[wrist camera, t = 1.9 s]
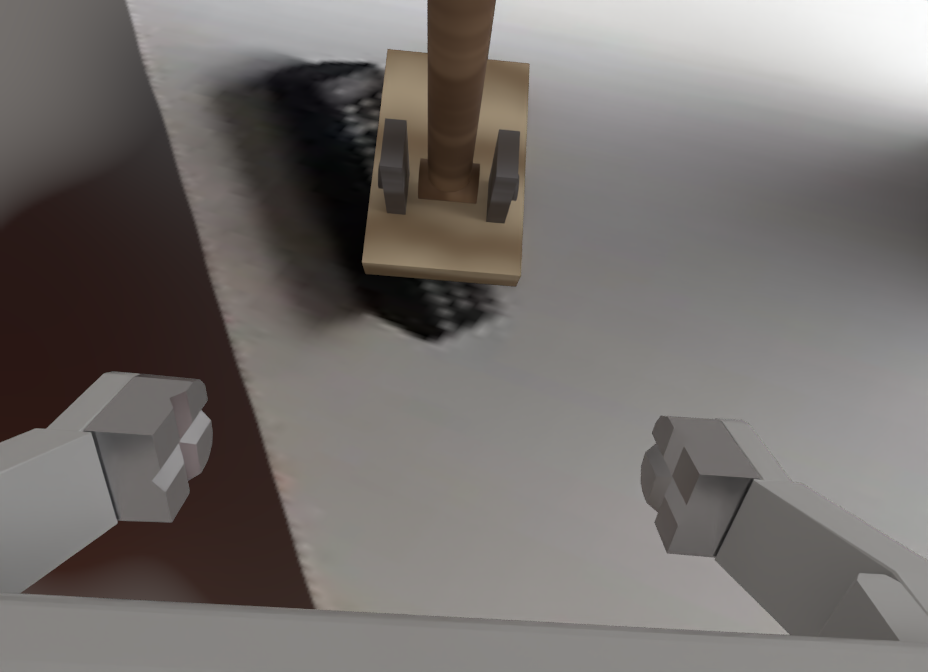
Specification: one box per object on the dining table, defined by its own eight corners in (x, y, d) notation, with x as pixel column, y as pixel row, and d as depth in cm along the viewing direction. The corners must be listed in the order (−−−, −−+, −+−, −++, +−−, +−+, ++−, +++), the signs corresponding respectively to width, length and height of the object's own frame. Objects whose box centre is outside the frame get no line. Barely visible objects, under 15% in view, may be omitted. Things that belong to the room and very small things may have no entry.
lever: (477, 222, 34) (576, -286, 11) (414, 217, 34) (385, -311, 11) (481, 166, 35) (578, -404, 12) (419, 160, 35) (403, -429, 12)
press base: (515, 286, 36) (537, 239, 29) (365, 273, 36) (349, 222, 29) (524, 83, 41) (545, -3, 33) (389, 69, 40) (381, -21, 33)
